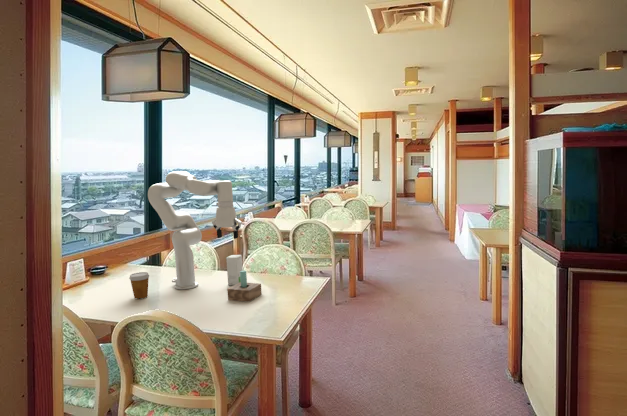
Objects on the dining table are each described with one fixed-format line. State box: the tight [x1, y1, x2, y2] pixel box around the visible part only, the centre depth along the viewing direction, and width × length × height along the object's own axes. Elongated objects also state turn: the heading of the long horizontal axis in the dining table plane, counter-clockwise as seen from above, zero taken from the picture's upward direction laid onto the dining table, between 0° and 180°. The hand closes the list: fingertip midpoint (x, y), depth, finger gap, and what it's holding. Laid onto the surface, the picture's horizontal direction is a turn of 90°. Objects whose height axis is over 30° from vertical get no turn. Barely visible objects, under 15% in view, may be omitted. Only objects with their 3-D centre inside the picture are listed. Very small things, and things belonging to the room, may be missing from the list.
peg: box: [240, 270, 248, 288], centre depth 207 cm, size 3×3×12 cm
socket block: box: [227, 282, 263, 303], centre depth 207 cm, size 12×12×6 cm
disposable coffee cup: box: [128, 271, 150, 300], centre depth 213 cm, size 10×10×12 cm
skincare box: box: [225, 254, 244, 286], centre depth 232 cm, size 8×7×16 cm
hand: (227, 237), depth 214 cm, fingers open, 9 cm apart
